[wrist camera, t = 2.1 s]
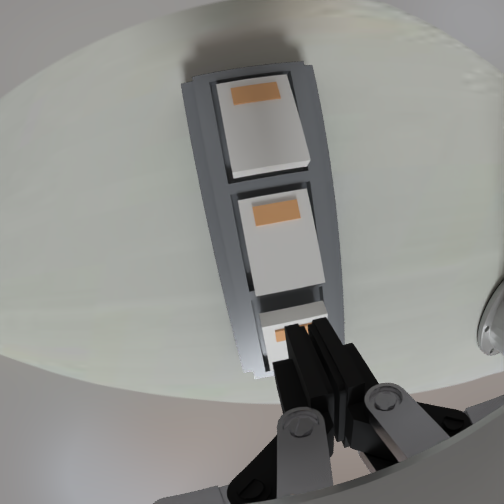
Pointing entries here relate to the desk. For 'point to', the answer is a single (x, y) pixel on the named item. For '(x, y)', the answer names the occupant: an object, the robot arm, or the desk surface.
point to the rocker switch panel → (233, 189)
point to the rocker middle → (281, 242)
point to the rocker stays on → (262, 126)
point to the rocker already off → (284, 317)
